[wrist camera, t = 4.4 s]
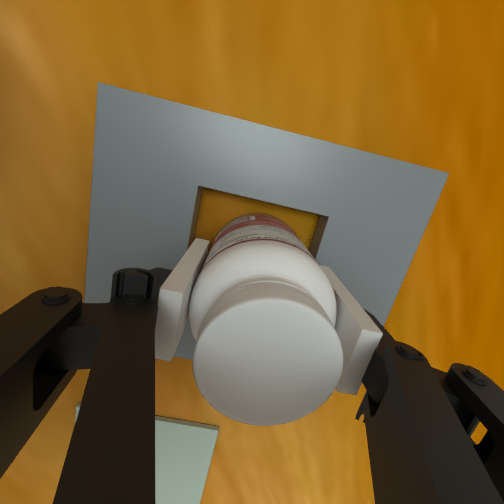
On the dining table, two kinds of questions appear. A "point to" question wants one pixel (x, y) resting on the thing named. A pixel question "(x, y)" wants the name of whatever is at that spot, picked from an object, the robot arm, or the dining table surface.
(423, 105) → the dining table surface
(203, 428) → the mat
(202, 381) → the pill bottle
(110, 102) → the socket block
